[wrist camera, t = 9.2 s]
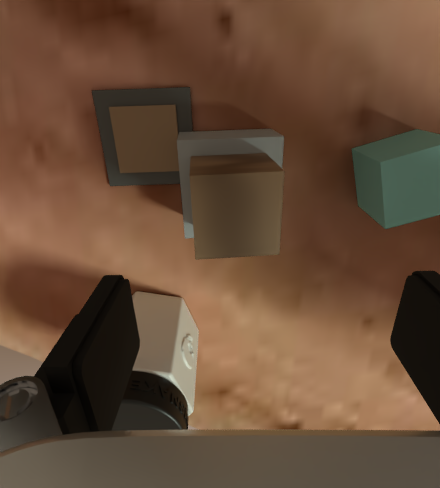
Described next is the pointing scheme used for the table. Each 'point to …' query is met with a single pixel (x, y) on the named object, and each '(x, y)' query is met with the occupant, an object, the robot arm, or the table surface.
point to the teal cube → (399, 178)
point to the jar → (161, 366)
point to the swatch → (142, 133)
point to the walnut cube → (236, 205)
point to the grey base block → (221, 145)
